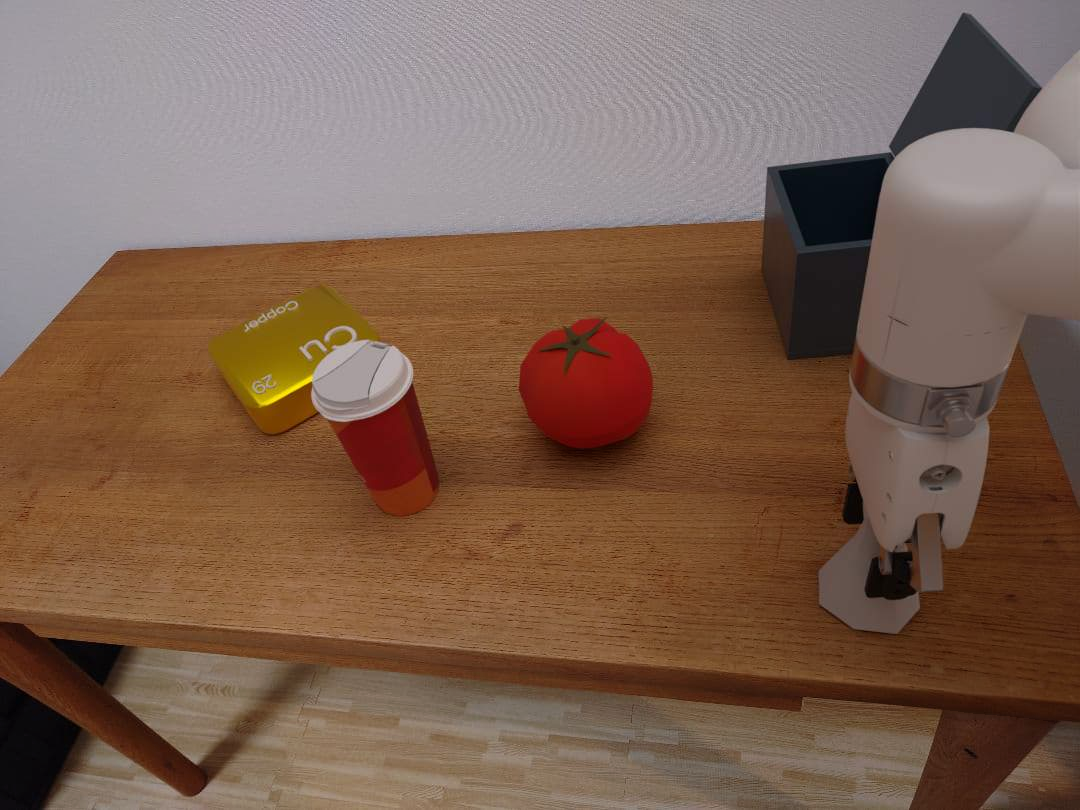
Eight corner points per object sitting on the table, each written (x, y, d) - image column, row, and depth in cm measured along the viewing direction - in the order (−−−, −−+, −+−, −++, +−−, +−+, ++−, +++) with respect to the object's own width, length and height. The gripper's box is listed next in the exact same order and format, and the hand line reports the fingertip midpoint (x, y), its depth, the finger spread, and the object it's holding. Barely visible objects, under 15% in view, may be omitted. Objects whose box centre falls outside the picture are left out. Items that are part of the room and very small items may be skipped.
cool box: (787, 359, 77) (797, 253, 69) (761, 269, 88) (766, 166, 79) (915, 348, 76) (941, 237, 67) (873, 257, 86) (891, 151, 78)
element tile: (336, 308, 94) (323, 275, 91) (397, 369, 85) (384, 335, 82) (218, 370, 89) (199, 338, 86) (268, 443, 80) (249, 409, 77)
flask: (832, 537, 63) (848, 453, 56) (931, 571, 60) (961, 486, 53) (802, 611, 59) (815, 531, 52) (906, 652, 56) (935, 572, 49)
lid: (1033, 86, 58) (1043, 88, 58) (962, 12, 68) (971, 14, 69) (938, 232, 67) (947, 233, 67) (888, 146, 77) (896, 148, 77)
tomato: (667, 391, 77) (662, 299, 69) (641, 482, 69) (632, 391, 62) (549, 377, 81) (532, 289, 73) (512, 463, 73) (489, 375, 65)
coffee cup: (394, 446, 77) (345, 327, 66) (468, 468, 74) (428, 345, 63) (344, 513, 72) (282, 395, 61) (420, 539, 69) (368, 419, 58)
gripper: (1070, 482, 37) (977, 667, 49) (946, 264, 49) (897, 458, 62) (900, 495, 38) (851, 673, 50) (819, 277, 50) (796, 465, 62)
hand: (877, 553), depth 56 cm, fingers open, 5 cm apart
